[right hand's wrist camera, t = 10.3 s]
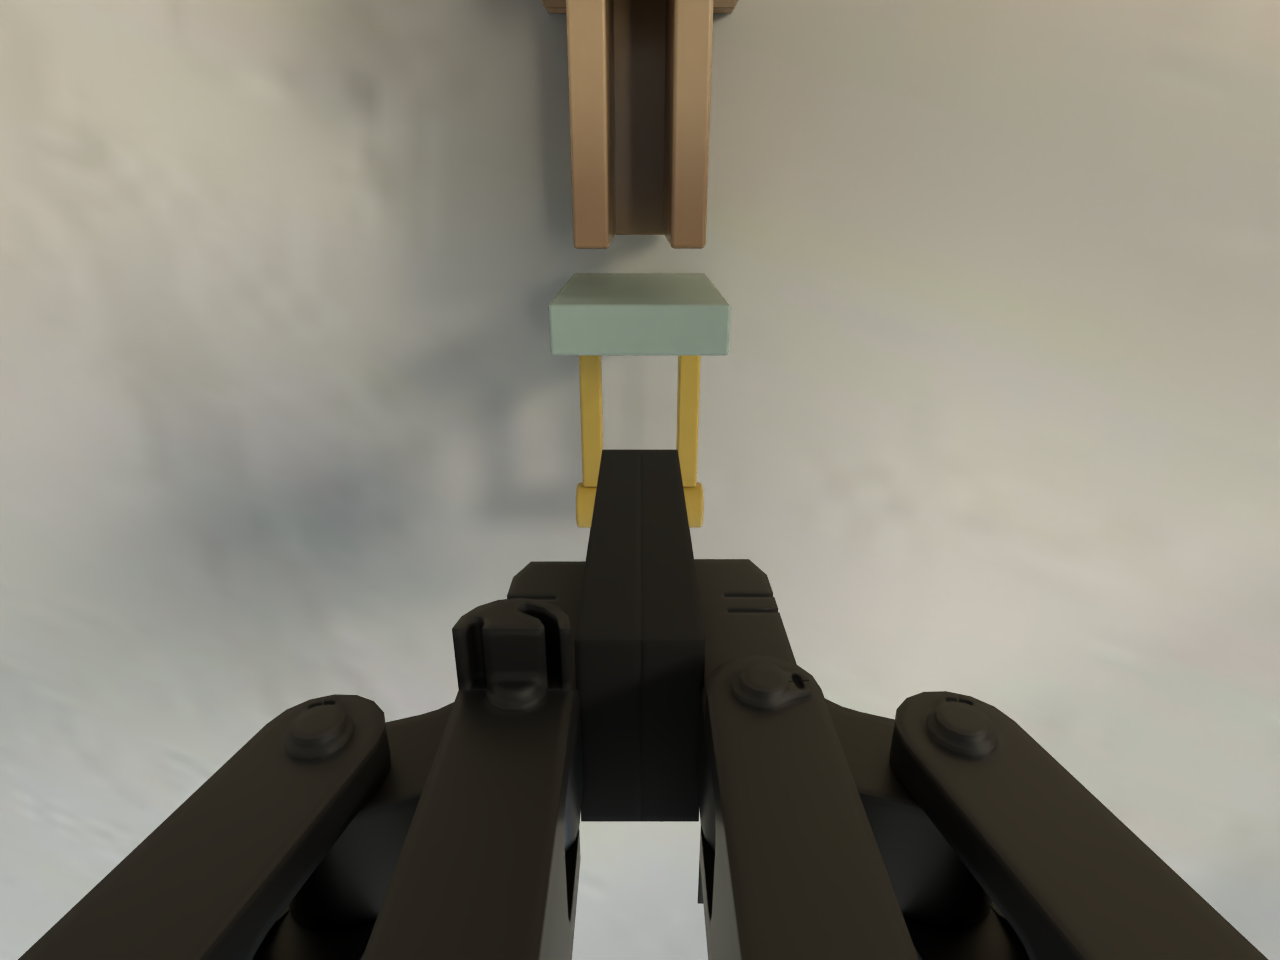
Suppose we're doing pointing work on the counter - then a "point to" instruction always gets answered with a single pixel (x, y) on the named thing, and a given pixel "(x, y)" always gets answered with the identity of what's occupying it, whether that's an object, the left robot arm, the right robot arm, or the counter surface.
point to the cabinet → (721, 4)
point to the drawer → (639, 208)
